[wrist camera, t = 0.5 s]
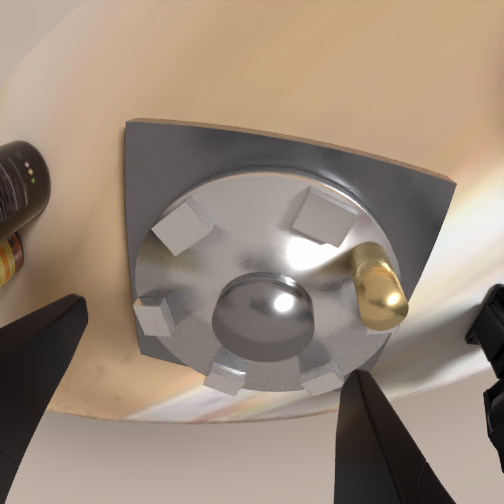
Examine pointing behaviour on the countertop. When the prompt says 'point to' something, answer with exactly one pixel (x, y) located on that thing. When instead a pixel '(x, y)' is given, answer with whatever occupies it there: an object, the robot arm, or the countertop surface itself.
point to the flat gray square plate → (280, 155)
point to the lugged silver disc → (269, 281)
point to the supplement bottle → (21, 186)
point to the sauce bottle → (10, 258)
